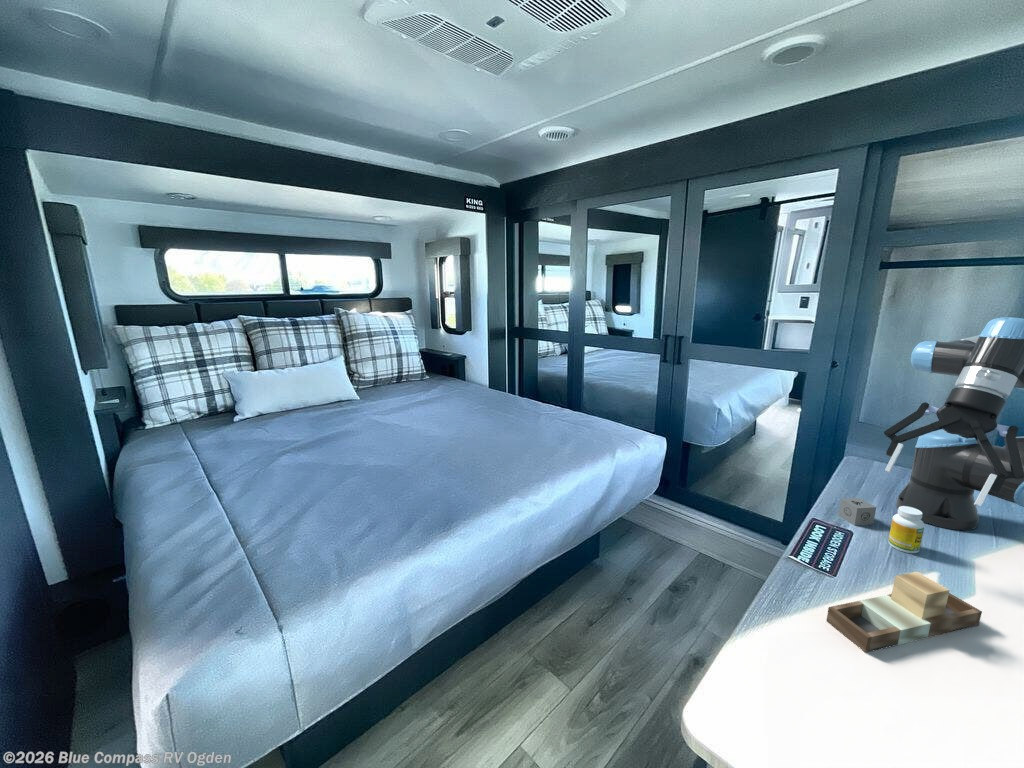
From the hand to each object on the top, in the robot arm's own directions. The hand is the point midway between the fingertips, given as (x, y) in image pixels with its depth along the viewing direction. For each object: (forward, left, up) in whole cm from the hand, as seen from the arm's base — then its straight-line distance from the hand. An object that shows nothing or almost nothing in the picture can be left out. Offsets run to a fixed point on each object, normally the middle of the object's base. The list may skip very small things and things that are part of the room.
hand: (929, 487), depth 83 cm
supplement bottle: (-7, -7, -20) cm, 22 cm away
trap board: (+17, +10, -20) cm, 28 cm away
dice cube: (-8, -19, -20) cm, 29 cm away
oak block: (+15, +10, -17) cm, 24 cm away
